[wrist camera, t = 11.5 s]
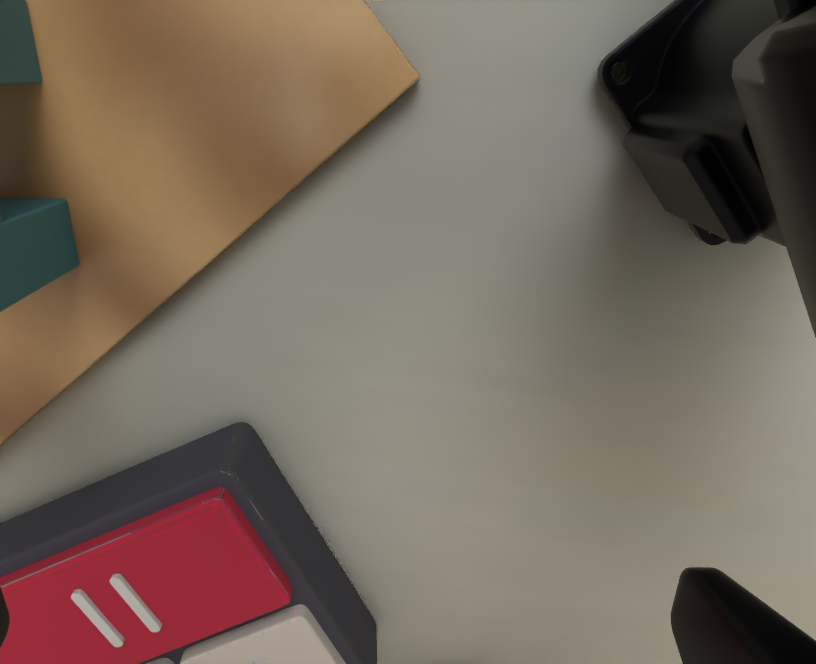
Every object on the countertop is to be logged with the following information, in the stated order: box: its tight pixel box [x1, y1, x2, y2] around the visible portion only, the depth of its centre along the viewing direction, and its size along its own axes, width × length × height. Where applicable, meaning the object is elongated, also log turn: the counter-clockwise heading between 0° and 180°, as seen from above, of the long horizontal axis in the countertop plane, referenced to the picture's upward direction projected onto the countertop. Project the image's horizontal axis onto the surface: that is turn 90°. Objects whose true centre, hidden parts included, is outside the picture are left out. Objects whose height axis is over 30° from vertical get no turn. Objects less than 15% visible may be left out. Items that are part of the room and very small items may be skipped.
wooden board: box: [0, 0, 420, 446], centre depth 17 cm, size 20×12×1 cm, turn 129°
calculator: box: [0, 422, 377, 664], centre depth 22 cm, size 11×4×15 cm
